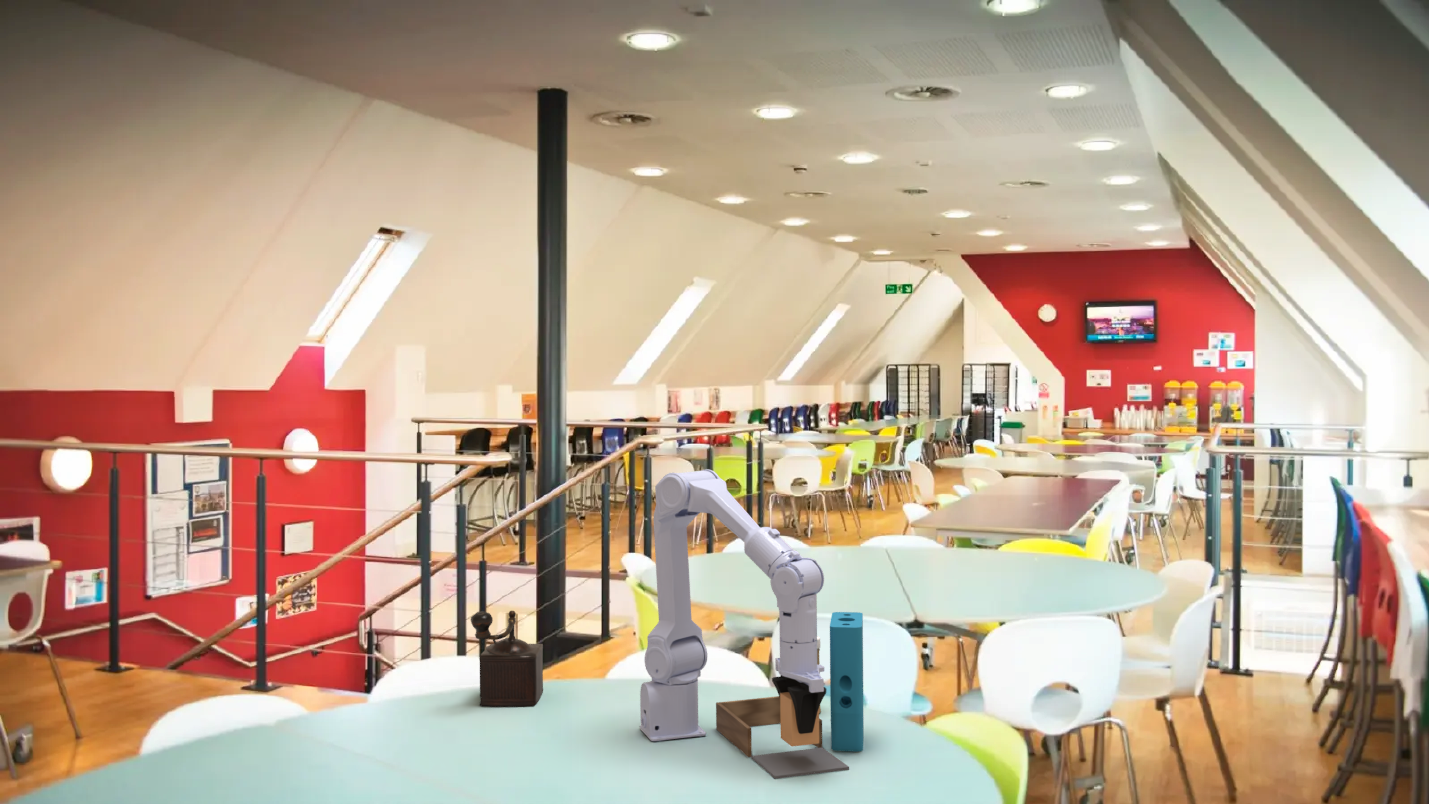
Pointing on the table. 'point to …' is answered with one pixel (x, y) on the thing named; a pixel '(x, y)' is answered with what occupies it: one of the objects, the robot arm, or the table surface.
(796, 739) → the orange block
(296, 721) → the table surface
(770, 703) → the walnut box
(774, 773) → the charcoal mat
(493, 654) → the manual coffee grinder
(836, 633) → the block
